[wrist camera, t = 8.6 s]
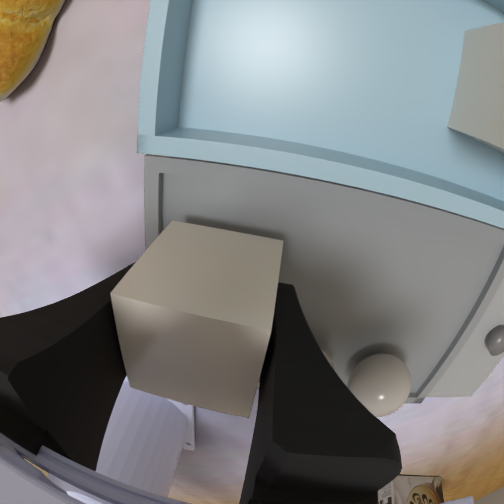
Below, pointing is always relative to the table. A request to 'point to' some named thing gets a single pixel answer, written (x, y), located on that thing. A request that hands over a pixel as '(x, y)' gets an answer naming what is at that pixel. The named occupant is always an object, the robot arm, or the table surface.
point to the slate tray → (358, 265)
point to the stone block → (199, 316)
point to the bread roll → (23, 38)
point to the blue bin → (322, 94)
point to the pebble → (380, 383)
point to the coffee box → (412, 491)
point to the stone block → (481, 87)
